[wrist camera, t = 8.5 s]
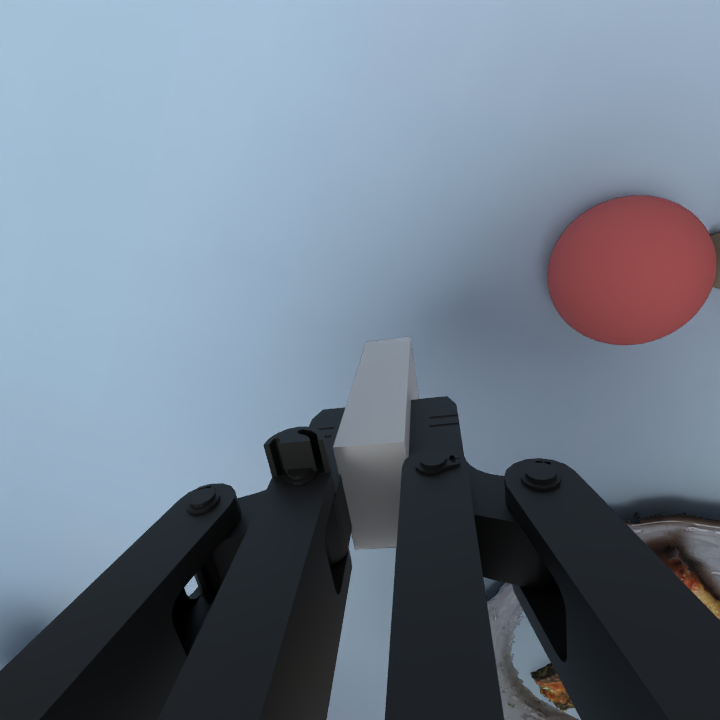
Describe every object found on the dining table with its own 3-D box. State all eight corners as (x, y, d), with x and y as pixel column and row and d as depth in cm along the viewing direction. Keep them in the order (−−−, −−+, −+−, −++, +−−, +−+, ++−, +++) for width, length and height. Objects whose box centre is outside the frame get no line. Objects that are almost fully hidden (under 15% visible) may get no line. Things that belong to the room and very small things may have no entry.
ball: (620, 380, 17) (525, 342, 23) (753, 338, 18) (631, 311, 24) (615, 210, 15) (513, 214, 21) (764, 174, 16) (629, 187, 22)
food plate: (645, 428, 25) (675, 469, 22) (961, 625, 28) (1029, 687, 25) (395, 657, 36) (391, 707, 33) (639, 785, 38) (658, 843, 35)
